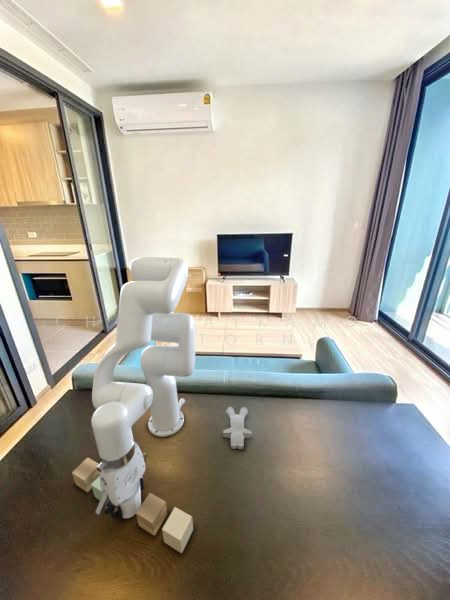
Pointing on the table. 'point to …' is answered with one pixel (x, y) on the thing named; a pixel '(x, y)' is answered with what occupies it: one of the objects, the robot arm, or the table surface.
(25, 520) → the table surface
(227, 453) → the table surface
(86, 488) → the block
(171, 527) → the block
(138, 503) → the white cylinder
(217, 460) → the table surface
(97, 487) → the block
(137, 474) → the robot arm
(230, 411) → the bunny figurine
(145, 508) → the block
